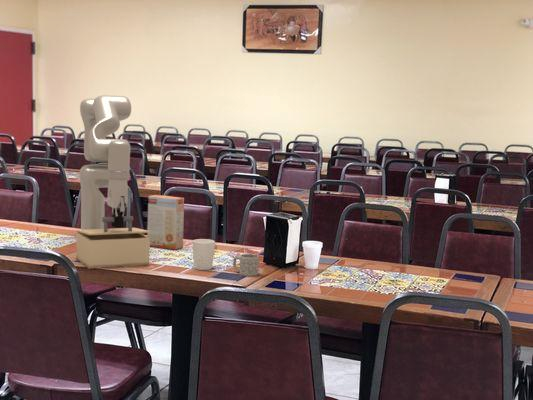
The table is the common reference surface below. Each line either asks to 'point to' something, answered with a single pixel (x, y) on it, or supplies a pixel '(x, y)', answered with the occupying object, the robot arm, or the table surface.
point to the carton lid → (115, 230)
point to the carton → (112, 250)
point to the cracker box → (165, 221)
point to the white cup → (203, 254)
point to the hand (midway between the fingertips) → (117, 226)
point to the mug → (247, 264)
